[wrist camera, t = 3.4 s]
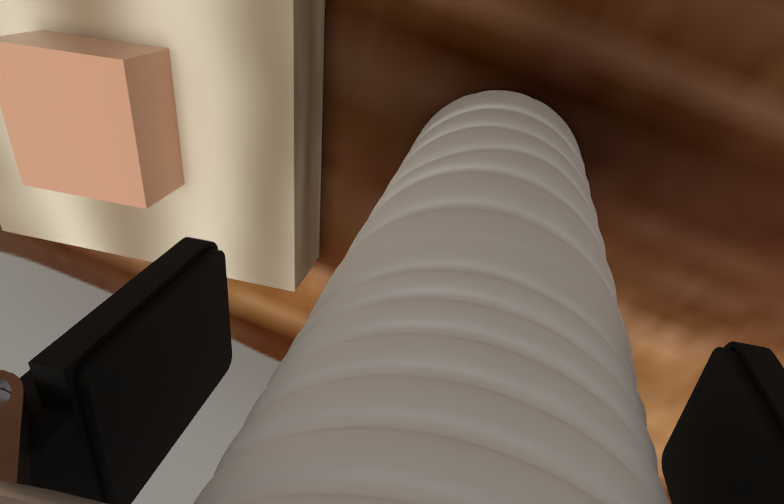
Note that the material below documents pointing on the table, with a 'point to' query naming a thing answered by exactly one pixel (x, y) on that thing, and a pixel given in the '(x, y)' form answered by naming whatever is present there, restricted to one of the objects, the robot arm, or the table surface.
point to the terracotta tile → (91, 116)
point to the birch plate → (202, 134)
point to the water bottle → (460, 340)
